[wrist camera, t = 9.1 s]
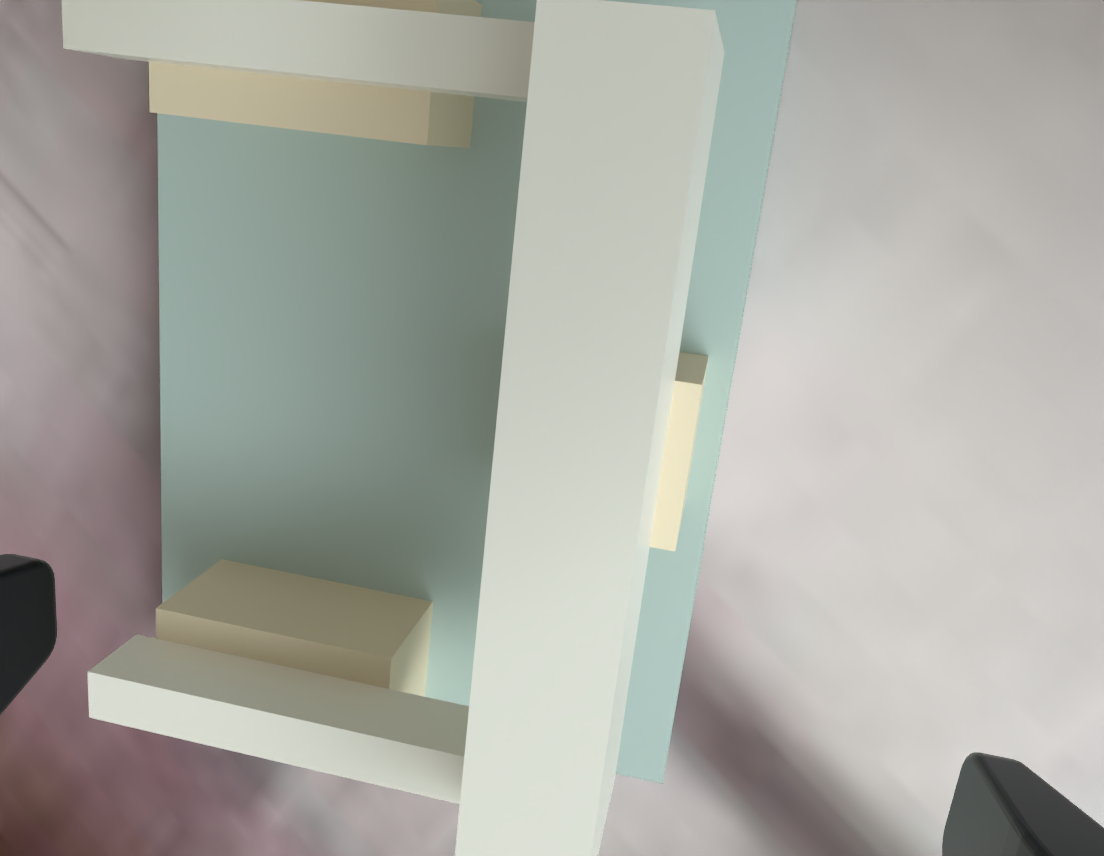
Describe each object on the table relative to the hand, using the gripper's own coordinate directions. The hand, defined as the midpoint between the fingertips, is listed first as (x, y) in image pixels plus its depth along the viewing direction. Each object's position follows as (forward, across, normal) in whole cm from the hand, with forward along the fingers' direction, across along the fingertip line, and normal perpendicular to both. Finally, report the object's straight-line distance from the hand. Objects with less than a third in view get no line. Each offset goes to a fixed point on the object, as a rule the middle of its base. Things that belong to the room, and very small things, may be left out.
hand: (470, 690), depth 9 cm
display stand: (+12, +4, 0) cm, 12 cm away
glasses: (+8, +4, 0) cm, 9 cm away
